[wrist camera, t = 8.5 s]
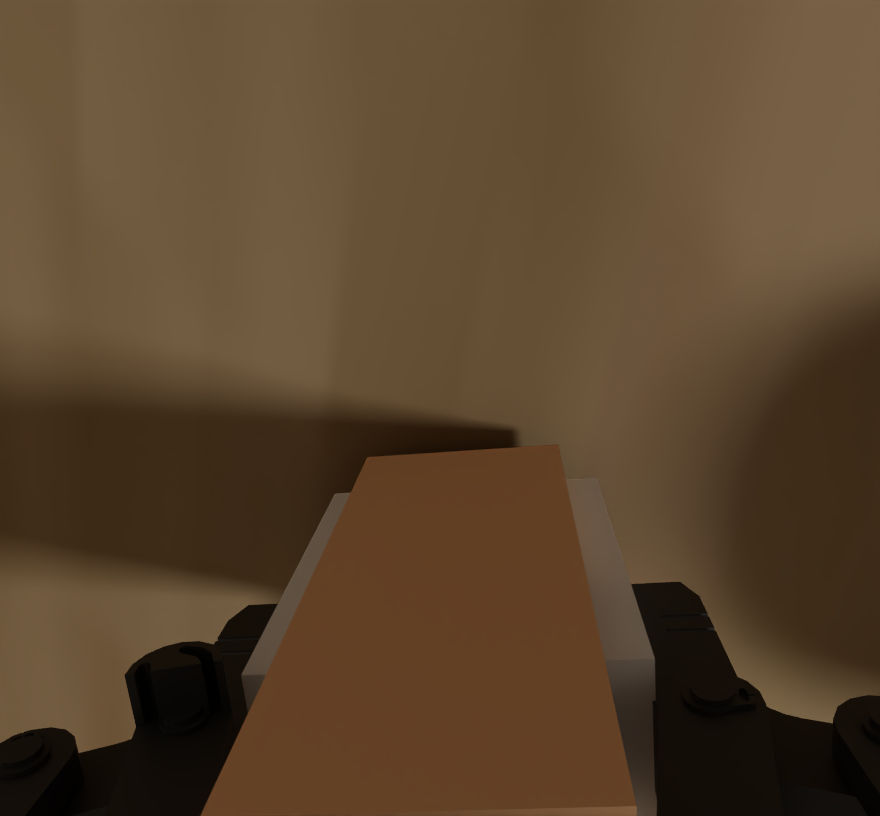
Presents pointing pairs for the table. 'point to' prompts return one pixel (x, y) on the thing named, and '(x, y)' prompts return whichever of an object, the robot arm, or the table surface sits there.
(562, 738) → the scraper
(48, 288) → the table surface
